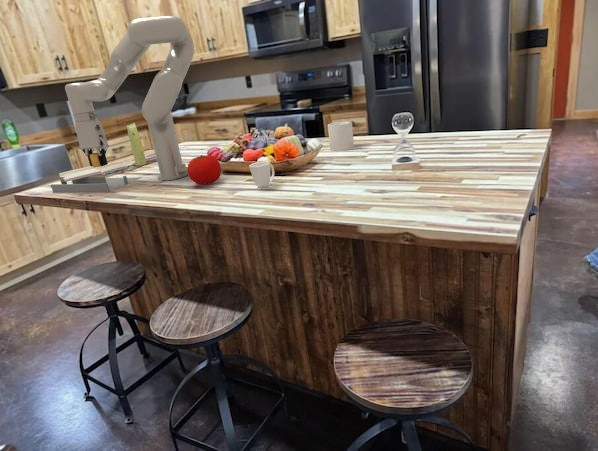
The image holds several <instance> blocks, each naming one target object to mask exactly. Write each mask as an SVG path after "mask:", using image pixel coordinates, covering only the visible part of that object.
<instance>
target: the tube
mask: <svg viewBox="0 0 598 451" xmlns="http://www.w3.org/2000/svg"><path fill="white" fill-rule="evenodd" d="M126 129H127V134H128V138H129V143H130V147H131V151H132V154H133V157H134V162H135V165H136V166H138V167H141V166H144V165H146V164H147V163H148V162H147V159H146V157H145V156H146V155H145V152H144V148H143V144H142V142H141V138H140V135H139V132H138V128H137V125H136V123H135V122H133V123H130V124H127V125H126Z"/></svg>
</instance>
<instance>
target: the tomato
mask: <svg viewBox="0 0 598 451" xmlns="http://www.w3.org/2000/svg"><path fill="white" fill-rule="evenodd" d="M187 167H188V175H187V176H188V177H189V179H190V180H191V181H192V182H193V183H195V184H197V185H211V184H214V183H216V182H217V181H219V179H220V177H221V175H222V166H221V164H220V161H219V160H218V158H217V157H215V156H213V155H209V154H207V155H203V154H200V156H197V157H194V158H193V159H191V160H190V161H189V162H188V165H187Z"/></svg>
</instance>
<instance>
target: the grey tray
mask: <svg viewBox="0 0 598 451" xmlns="http://www.w3.org/2000/svg"><path fill="white" fill-rule="evenodd" d="M140 179H143V177H141V176H140V177H137V176H136V177H135V176H134V177H127V175H123V176H122V177H106V176H88V177H84V178H80V179H76V180H72V181H71V183H67V184H61V183H56V184H55V183H53V184H50V187H51V189H52V193H53V194H54V193H56V194H57V193H59V194H61V193H62V194H63V193H65V194H66V193H68V194H69V193H78V194H79V193H110V192H112V191H114V190H117V189H119V188H122V187H124V186H126V185H128V184H132V183H133V182H135V181H136V182H137V181H138V180H140Z"/></svg>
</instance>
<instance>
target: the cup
mask: <svg viewBox="0 0 598 451" xmlns="http://www.w3.org/2000/svg"><path fill="white" fill-rule="evenodd" d="M248 167H249V170H250V174H251V177H252V180H253V182H254V184H255V186H256V189H257V190H259V191H260V190H261V189H263V190H267V189H269V188H270V187H271V184H272V182H273V179H274V177H275V168H274V165H273V164H272V163H271V161H266V160H265V161H263V160H262V161H257V162H253V163H251V164H250V165H249V166H248Z"/></svg>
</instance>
